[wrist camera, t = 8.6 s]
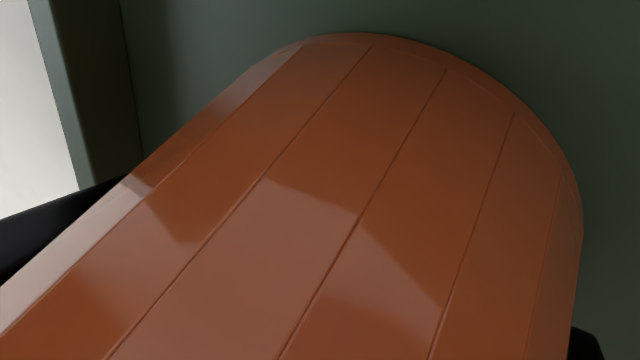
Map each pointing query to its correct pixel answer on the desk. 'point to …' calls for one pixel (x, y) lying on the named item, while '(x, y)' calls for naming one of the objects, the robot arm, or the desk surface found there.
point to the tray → (380, 18)
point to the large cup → (323, 224)
